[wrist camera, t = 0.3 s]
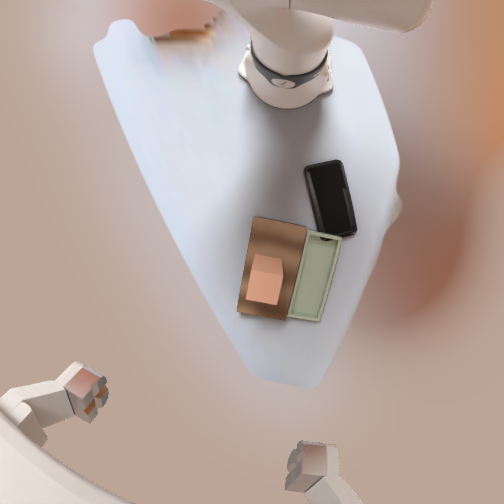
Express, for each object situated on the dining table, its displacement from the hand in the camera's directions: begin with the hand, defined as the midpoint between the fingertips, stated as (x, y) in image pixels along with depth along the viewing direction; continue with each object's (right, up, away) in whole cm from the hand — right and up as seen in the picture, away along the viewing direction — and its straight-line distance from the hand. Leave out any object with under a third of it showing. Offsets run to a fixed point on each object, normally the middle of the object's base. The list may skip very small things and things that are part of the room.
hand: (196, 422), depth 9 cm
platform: (+6, +3, +47) cm, 47 cm away
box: (+14, +2, +47) cm, 49 cm away
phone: (+17, +17, +43) cm, 50 cm away
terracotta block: (+5, +3, +44) cm, 44 cm away
